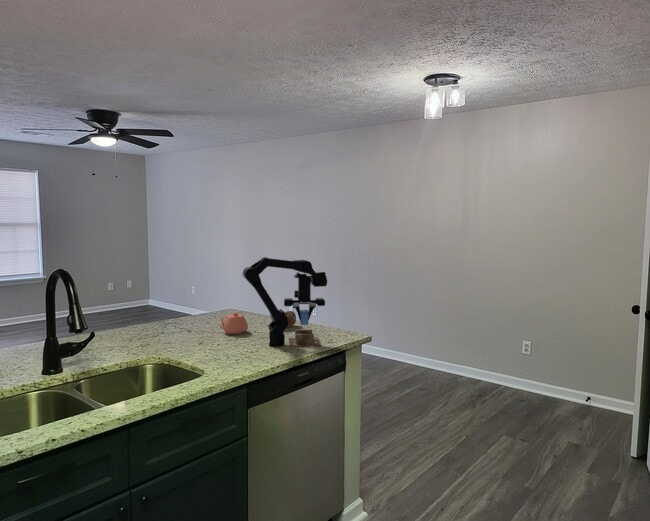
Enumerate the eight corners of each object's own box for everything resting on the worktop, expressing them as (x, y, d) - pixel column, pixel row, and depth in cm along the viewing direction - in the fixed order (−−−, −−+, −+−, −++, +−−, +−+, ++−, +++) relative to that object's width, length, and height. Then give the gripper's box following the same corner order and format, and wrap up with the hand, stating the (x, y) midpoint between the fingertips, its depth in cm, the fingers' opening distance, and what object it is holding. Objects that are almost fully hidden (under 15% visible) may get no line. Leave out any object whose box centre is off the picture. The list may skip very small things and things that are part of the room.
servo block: (301, 325, 210) (301, 312, 210) (299, 321, 219) (300, 309, 219) (308, 325, 211) (308, 312, 210) (307, 321, 219) (307, 309, 219)
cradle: (289, 347, 208) (289, 336, 207) (288, 339, 222) (288, 328, 221) (320, 346, 210) (320, 335, 209) (317, 338, 223) (317, 328, 223)
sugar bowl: (245, 336, 227) (245, 315, 226) (217, 335, 228) (216, 315, 227) (250, 330, 239) (249, 310, 239) (223, 329, 240) (222, 310, 239)
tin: (277, 330, 238) (277, 314, 238) (273, 329, 240) (273, 313, 240) (296, 325, 250) (296, 310, 250) (292, 324, 252) (292, 309, 252)
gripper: (322, 284, 222) (322, 316, 224) (283, 284, 220) (283, 317, 222) (325, 288, 211) (324, 321, 213) (284, 288, 209) (284, 322, 211)
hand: (304, 320), depth 215 cm, fingers closed on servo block, 3 cm apart
